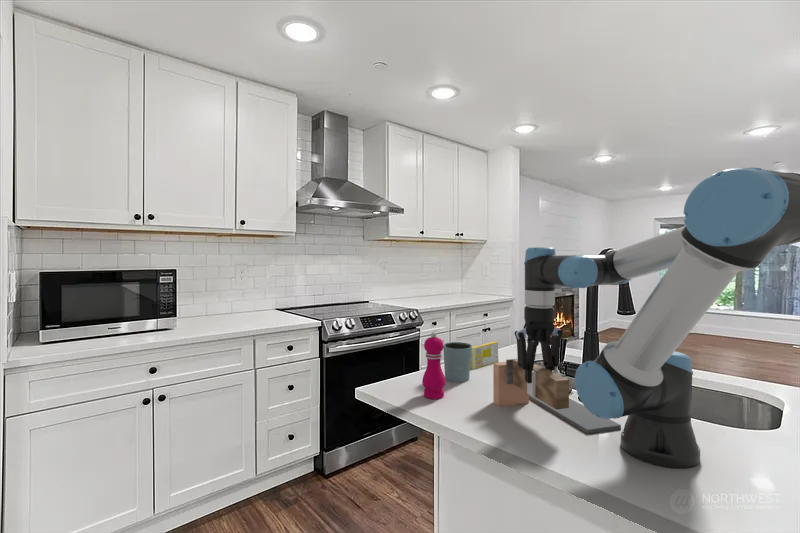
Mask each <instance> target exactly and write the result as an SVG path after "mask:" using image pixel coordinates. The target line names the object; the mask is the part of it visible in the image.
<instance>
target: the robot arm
mask: <svg viewBox="0 0 800 533" xmlns="http://www.w3.org/2000/svg"><path fill="white" fill-rule="evenodd" d="M683 215H684V217H685V218H683V223H684V226H681V227H678V228H675V229H673V230H670V231H668V232H665V233H662V234H658V235H655V236H653V237H650V238H648V239H646V240H645V239H644V240H643V241H642V240H641V241H639V242H636V243H634V244H632V245H628V246H626V247H623V248H620V249H618V250H615V251H612V252H609V253H605V254H593V255H591V254H590V255H589V254H586V255H584V254H583V255H581V254H570V255H565V254H564V255H563V254H562V255H557V254H556V248H554V247H546V246H545V247H543V246H542V247H541V246H540V247H538V246H537V247H527V248H526V250H525V255H524V305H525V307H523V308H524V310H523V311H524V325H523V328H521V329H520V330H515V331H514V336H515V339H516V351H517V359H518V367H520V368H522V369H524V370H525V382H527V393H528V394H529V395H531V396H533V397H534V396H535V387H536V372H535V371H533V367H534V364H535V361H536V354H537V348H538V346H539V343H540V348H541V349H540V350H541V355H542V362H543V368H545V369H547V370H549V371H551V372H553V371H555V370H556V368H558V367H559V365H560V358H561V356H560V355H561V343H562V337H563V334H564V330H563V329H560V328H556V327H555V325H554V321H555V308H554V306H555V304H556V303H555V302H556V296H555V295H556V294H555V293H556V291H555V290H556V287H555V286H560V287H567V288H571V289H586V288H589V287H594V286H618V285H623V284H627V283H629V282H630V281H631V280H632V279H636V278H639V277H642V276H647V275H651V274H654V273H658V272H660V271H666V272H665V273H664V275H663V276H662V277H661V278H660V280H659V281H658V283H657V284H656V286H655V287H654V289H653V290H652V291H651V294H650V295H649V296H648V297H647V299H646V301H645V302H644V303H643V305H642V307H640V310H639V311H638V312H637V313H636V315H635V316H634V318H633V319H632V321H631V323H629V325H628V327H627V328H626V329H625V331H624V333H623V334H622V336H620V339H619V340H618V341H617V340H616V341H614V340H613V341H609V342H608V343H606V344H605V345H604V347H603V348H602V350H601V351H600V353H599V354H598V356H597V357H596V359H594V360H586V361H585V362H582V363H581V364H580V365H579V366H578V367H577V368H576V370H575V373H574V384H575V385H574V386H575V388H576V393H577V396H578V398H579V400H580V402H581V403H582V405H583V406H585V407H586V408H587V410H588V411H589V412H591V413H592V414H593V415H595V416H597V417H600V418H603V419H610V420H613V419H620V418H622V417H626V416H627V418H626V421H625V424H624V428H623V429H622V431H621V434H620V445H621V448H622V449H623V450H624V451H625V453H627V454H628V455H630V456H633V457H634V458H637V459H639V460H640V461H644V462H646V463H649V464H653V465H656V466H659V467H660V466H661V467H667V468H675V469H688V468H692V467H696V466H697V465H699V464H700V462H701V448H700V446H699V444H698V442H697V439H696V435H695V431H694V429H693V426H692V396H693V395H692V394H693V391H692V390H693V375H694V372H693V364H692V359H691V358H690V356H688V355H687V354H685V353H683V352H680V351H677V349H678V348H679V347H680V345H681V344H682V342H683V341H684V340H685V339H686V337H687V336H688V335H689V334H690V332H692V330H693V329H694V328H695V326H696V325H697V324H698V323H699V322H700V320H701V319H702V318H703V316H704V315H705V314H706V313H707V312H708V310H709V309H710V308H711V307H712V305H713V304H714V303H715V301H717V299H718V298H719V297H720V296H721V294H722V293H723V292H724V290H725V289H726V288H727V287H728V285H729V284H730V283H731V282H732V281H733V279H734V278H735V277H736V276H737V274H738V273H740V272H746V271H751V270H755V269H756V268H758V267H759V266H760V264H761V263H762V262H763V261H764V259H765V258H766V257H767V256H768V255H769V253H771V251H772V250H773V249H774V247H778V246H779V247H780V246H787V245H793V244H796V243H800V173H798V172H797V173H796V172H785V171H783V172H782V171H776V170H770V169H769V170H768V169H763V168H761V167H741V168H729V169H725V170H721V171H718V172H716V173H713V174H711V175H709V176H707V177H706V178H704V179H703V180H702V181H700V182H699V183H698V184H696V186H694V188H693V189H692V190H691V192H690V193H689V195H688V197H687V198H686V200H685V203H684V207H683ZM526 338H527V340H526Z"/></svg>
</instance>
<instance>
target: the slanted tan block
mask: <svg viewBox="0 0 800 533" xmlns="http://www.w3.org/2000/svg"><path fill="white" fill-rule="evenodd" d="M492 367H493V368H492V369H493V372H492V374H493V375H492V376H493V380H492V381H493V391H492V392H493V395H492V396H493V404H495V405H496V406H497V407H505V406H514V405H521V404H522V405H523V404H524V405H525V404H529V403H530V399H529V394H528V393H527V392H526V391H524V390H522V389H521V388H519V387H517V386H515V385H514V384H506V361H499V362H496V363H493V366H492Z"/></svg>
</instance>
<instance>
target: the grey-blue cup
mask: <svg viewBox="0 0 800 533" xmlns="http://www.w3.org/2000/svg"><path fill="white" fill-rule="evenodd" d="M472 347H473V346H472V345H471V344H470V343H468V342H462V341H461V342H459V341H452V342H450V341H449V342H446V343H443V350H442V351H443V363H444V365H443V366H444V368H443V369H444V377H445V381H448V382H451V381H452V383H465V382H468V381H469V380H470V374H471V369H470V363H471V352H472Z"/></svg>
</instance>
